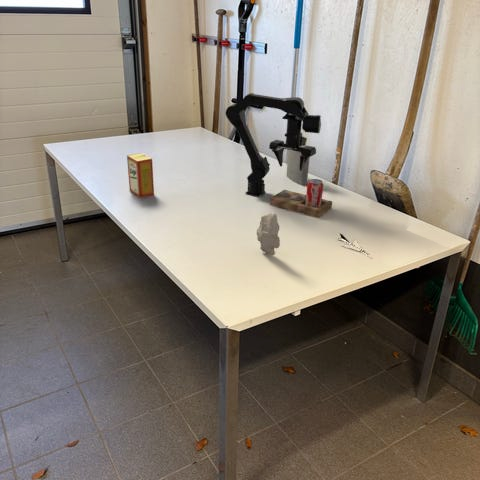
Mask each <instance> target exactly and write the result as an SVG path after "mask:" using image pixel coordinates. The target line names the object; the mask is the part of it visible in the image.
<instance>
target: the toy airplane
mask: <svg viewBox="0 0 480 480" xmlns="http://www.w3.org/2000/svg"><path fill="white" fill-rule="evenodd" d="M339 236H340V238H339V239H342V240H343V241H342V242H344V241H345V242H346V243H345V242H344V243H345V244H347V243H348V244H350V245H352V246H353V247H355V248H357V249H359V250H360V251H362V252H364V253H366V254H367V255H370V254H369V253H368V252H367V251H366V250H364V249H363V248H362V249H363V250H362V249H360V248H358V247H356V246H355V245H353V242H350V241H349V240H348V239H347V238H346V237H345V236H344V235H343V234H342V233H340V232H339ZM348 244H347V245H348Z"/></svg>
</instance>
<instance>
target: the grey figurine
mask: <svg viewBox="0 0 480 480" xmlns="http://www.w3.org/2000/svg"><path fill="white" fill-rule="evenodd" d="M279 231H280V224H279V222H278V216H277V214H276V213H271V212H270V213H269V214H267V215H263V216H261V217H260V221H259V226H258V228H257V229H256V237H257V238H256V239H257V241H258V242H259V243H260V248H259V249H260V250H261V251H262V252H263V253H265V254H266V255H270V256H275V254H276V251H275V249H278V248H280V246H281V240H280V237H279V236H278V235H279Z"/></svg>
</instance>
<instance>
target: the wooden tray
mask: <svg viewBox="0 0 480 480" xmlns="http://www.w3.org/2000/svg"><path fill="white" fill-rule="evenodd" d="M305 203H306V194H303V193H299V192H297V191H290V190H287V189H283V190H281V191H279V192H278V193H276V194H275V195H273V196H271V197H270V198H269V205H270V206H271V207H272V206H274V207H277V208H280V209H284V210H288V211H292V212H296V213H299V214H303V215H306V216H310V217H314V218H317V219H320V218H321V217H323V216H324V215H325V214H326V213H327V212H329V211H330V210H331V209H332V208H333V207H332V206H333V201H332V200H328V199H323V198H322V201H321V207H320V208H315V207H311V206H308V205H305Z"/></svg>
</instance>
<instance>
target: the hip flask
mask: <svg viewBox="0 0 480 480" xmlns="http://www.w3.org/2000/svg"><path fill="white" fill-rule="evenodd" d="M306 146H307V144H306V145H305V146H303V145H302V146H300V147H303V148H304V147H306ZM289 148H290V147H289ZM294 149H296V148H294ZM287 152H288V153H287V164H286V173H285V174H286V177H287V178H288V179H289V180H290V181H292V182H293V183H296V184H297V185H299V186H302V187H307V183H308V178H309V177H308V174H309V167H310V166H309V165H310V158H311V157H309V158H308V159H307V160H306V162H305V165H304V167H303V169H302V171H300V156H301V155H302V154H301V152H298V151H293V150H288V149H287Z"/></svg>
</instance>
